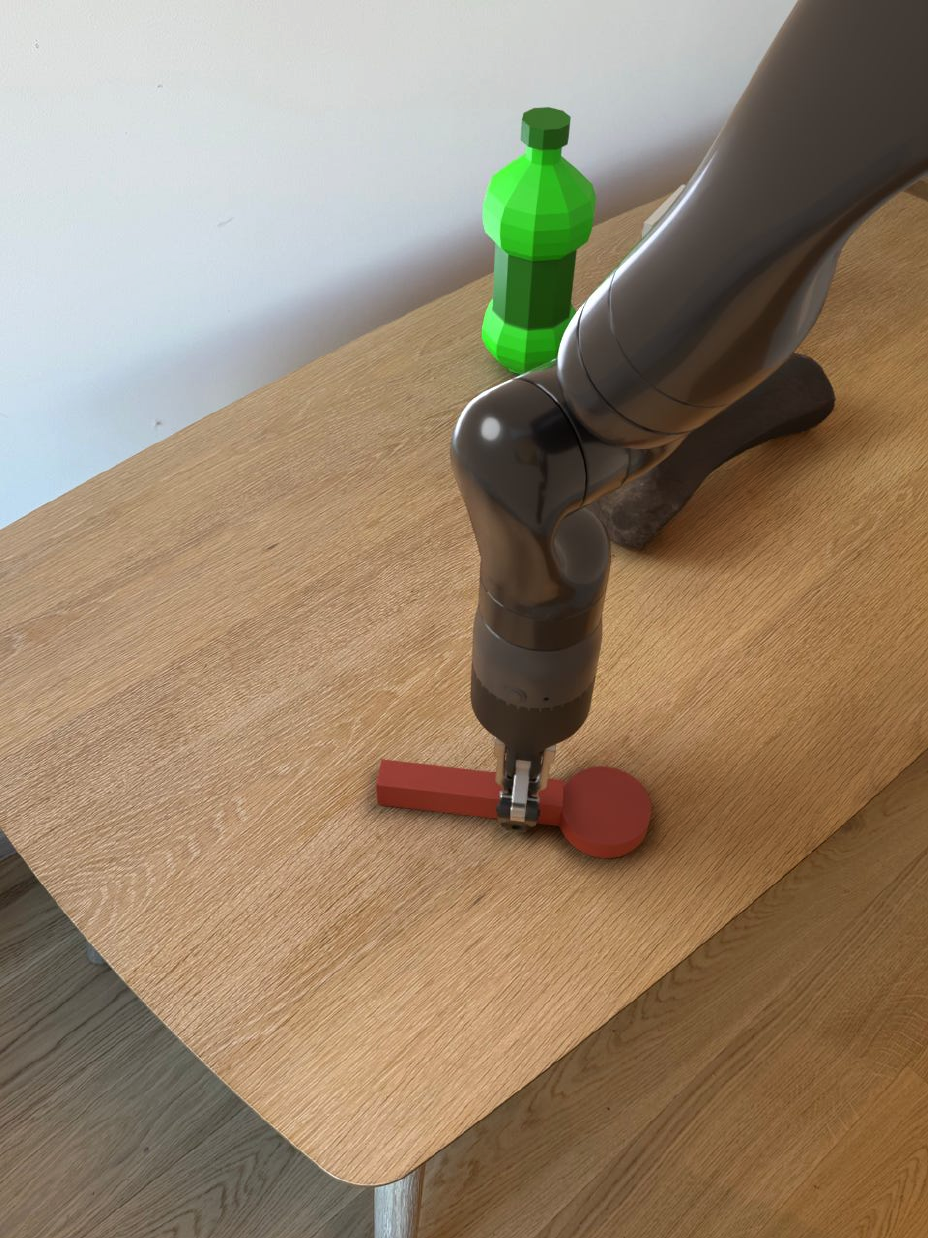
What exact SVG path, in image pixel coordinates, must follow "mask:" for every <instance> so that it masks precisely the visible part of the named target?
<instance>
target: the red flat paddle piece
mask: <svg viewBox="0 0 928 1238" xmlns="http://www.w3.org/2000/svg"><path fill="white" fill-rule="evenodd" d="M495 778H496V771H488V770H479V769H470V768H463V767H462V768H461V767H453V766H444V765H436V764H426V763H419V762H409V761H401V760H393V759H384V758H382V759H380V764H379V769H378V773H377V778H376V784H375V789H376V790H375V791H376V802H377V805H378V806H385V807H392V808H393V807H395V808H401V809H402V808H403V809H412V810H419V811H420V810H421V811H427V812H429V811H430V812H436V813H445V814H446V813H447V814H452V815H462V816H470V817H479V818H488V819H496V820H498V816H497V812H496V807H497V804H499V801H500V798H499V796H500V791H502V786H500V785H498V784H497V783H496V781H495ZM528 789H529V788H528ZM538 796H540V802H539V807H538V809H541V810H540V817H538V821H537V823H536V825H547V826H556V827H559V829H560V831H561V833H562V835H563V836H564V838H565V839H566V840H567V841H568V842H569V843H570V845H572V846H573V847H574V848H575V849H577V850H578V851H580V852H582V853H584V854H586V855H588V856H591V857H594V858H600V859H601V858H602V859H614V858H619V857H623V856H625V855H627V854H630V853H631V852H633V851H635V850H636V849H637V848H638V847H639V846H640V844H641V843H642V842H643V841H644V839H645V837H646V834H647V832H648V828H649V825H650V821H651V818H652V802H651V799H650V796H649V793H648V791H647V790H646V788H645V787H644V785H643V784H642V783H641V782H640V781H639V780H638V779H637V778H636V777H635V776H633V775H631V774H630V773H628V772H626V771H624V770H623V769H619V768H616V767H614V766H613V767H612V766H606V765H605V766H603V765H599V766H591V767H587V768H584V769H582V770H581V769H580V770H579V771H577V772H576V773H574V774H573V775H572V776H571V777H570V778H569V779H568V780H566V781H565V780H564V779H557V778H549V777H548V783H547V788H546V789H544V790H540V791H539V793H538Z"/></svg>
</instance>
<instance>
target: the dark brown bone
mask: <svg viewBox="0 0 928 1238" xmlns="http://www.w3.org/2000/svg"><path fill="white" fill-rule="evenodd" d="M834 390H835V389H834V387H833V385H832V383H831V381H830V379H829V378H828V376H827V375H826V372H825V371H824V369H823V367H822V366H821V365H820V364H819V363H818V361H816V360H815V359H813V357H810V356H809V355H807V354H804V353H798V352H794V353H793V355H792V356H791V357H790V358H789V359H788V360H787V361H786V362H785V363H784V364H783V365H782V366H781V367H780V368H779V369H778V370H777V371H775V372H774V373H773V374H772V375H771V376H769V377H768V378H767V379H766V380H764V381H763V382H762V383H761V384H759V385H758V386H757V387H756V388H754V389H753V390H752V391H750V392H749V393H748V394H746V395H745V396H743V397H742V398H741V399H739V400H738V401H736V402H735V403H734V404H732V405H731V406H729V407H728V408H727V409H725V410H724V411H722V412H721V413H720V414H718V415H717V416H715V417H714V418H713V419H711V420H710V421H708V422H707V423H706V424H704V425H702V426H701V427H699V428H698V429H696V430H695V431H693V432H691V433H690V434H689V435H688V436H687V437H686V438H685V439H684V440H683V442H682V443H681V444H680V445H679V446H678V447H677V448H676V449H675V450H674V451H673V452H672V453H671V454H670V455H669V456H668V457H667V458H665V459H664V460H663V461H662V462H660V463H659V464H658V465H656V466H655V467H654V468H652V469H651V470H649V471H648V472H646V473H645V474H643V475H642V476H640V477H639V478H637V479H635V480H634V481H632V482H630V483H629V484H627V485H625V486H623V487H622V488H620V489H618V490H616V491H614V492H612V493H610V494H609V495H607V496H605V497H603V498H601V499H599V500H597V501H595V502H594V503H592V504H590V505H588V506H586V507H587V508H588V509H589V510H591V511H592V512H593V513H594V514H595V515H597V517H598V518H599V519H600V520H601V521H602V523H603V524H604V526H605V528H606V530H607V533H608V536H609V540H610V542H612V543H614V544H616V545H618V546H620V547H622V548H624V549H626V550H627V549H628V550H630V551H643V550H644V549H645V548H647V546H648V545H649V543H650V542H651V541H652V540H653V539H655V537H656V536H657V535H658V534H659V533H660V532H661V531H662V530H663V529H664V528H665V527H666V526H667V525H668V524H670V522H671V521H672V520H673V519H675V517H676V516H678V514H679V513H680V512H681V511H682V510H683V509H684V507H685V506H686V505H687V503H689V501H690V500H691V499H692V497H693V496H694V495H695V493H696V492H697V490H698V489H699V488H700V487H701V486H702V484H703V483H704V481H705V480H706V479H707V478H708V477H709V476H710V475H711V474H712V473H713V472H714V471H716V470H717V469H718V468H720V467H722V466H723V465H724V464H726V463H727V462H729V461H731V460H732V459H734V458H736V457H738V456H739V455H742V454H743V453H745V452H747V451H748V450H751V449H753V448H755V447H757V446H760V445H762V444H765V443H767V442H770V441H774V440H777V439H780V438H783V437H788V436H791V435H795V434H800V433H803V432H807V431H810V430H812V429H814V428H816V427H817V426H818V425H820V424H822V423H823V422H824V421H825V420H826V419H827V418H828V417H829V416H830V415H831V414H832V413H833V411H834V410H835V405H836V404H835V402H836V400H837V398H836V395H835V391H834Z"/></svg>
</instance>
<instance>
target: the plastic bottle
mask: <svg viewBox="0 0 928 1238" xmlns="http://www.w3.org/2000/svg"><path fill="white" fill-rule="evenodd" d="M521 117H522V118H521V126H520V131H521V132H520V141H521V143H523V144H524V145H525V153H524V154H522V155H521V156H519V157H517V158H515V159H514V160H512V161H510V162H509V163H507V164H506V165H505V166H504V167H503V168H501V169H500V170H498V171H497V172H496V173H495V174H492V176H491V178H490V179H491V180H490V181H489V183H488V186H487V189H486V192H485V196H484V200H483V204H482V224H483V228H484V233H485V234H486V235H487V236H488V237H489V238H491V240H493V242H494V264H493V265H494V266H493V286H492V299H491V300H490V302H489V304H488V306H487V308H486V310H485V313H484V318H483V322H482V327H481V340H482V342H483V344H484V347H485V348H486V349H487V351H488V352H489V353H490V354H491V356H493V357H494V359H496V361H497V362H498V363H499V364H500V365H501V366H502V367H504V368H506V369H507V370H508V371H509V372H512V373H515V374H516V375H517V374H518V375H522V374H524V373H526V372H528V371H530V370H533V369H535V368H537V367H539V366H541V365H543V364H546V363H548V362H550V361H552V360H554V359H556V358H558V351H559V347H560V343H561V340H562V337H563V335H564V333H565V331H566V329H567V327H568V325H569V323H570V321H571V320H572V318H573V317H574V315H575V314H576V313H577V311H576V309H575V307H574V305H573V303H572V299H573V290H574V289H573V288H574V280H575V271H576V270H575V269H576V262H577V261H576V260H577V251H578V249H580V248H581V247H582V246H584V245H585V244H586V243H588V242H589V239H590V237H591V234H592V231H593V226H594V218H595V211H596V203H597V195H596V192H595V188H594V185H593V183H591V181H589V180H588V178H587V177H586V176H584V174H582V173H581V171H580V170H579V169H578V168H577V167H576V166H574V165H573V164H572V163H571V162H570V161H569V160H567V159H566V158H565V157H564V156H562V150H563V147H565V146H568V143H569V140H570V130H571V129H570V128H571V118H572V117H571V116H570V115H569V114H568V113H566V112H565V111H564V110H562V109H558V108H554V107H550V106H547V107H544V106H543V107H533V108H530V109H528V110H526V111H524V112H523V114H522V116H521Z"/></svg>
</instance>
